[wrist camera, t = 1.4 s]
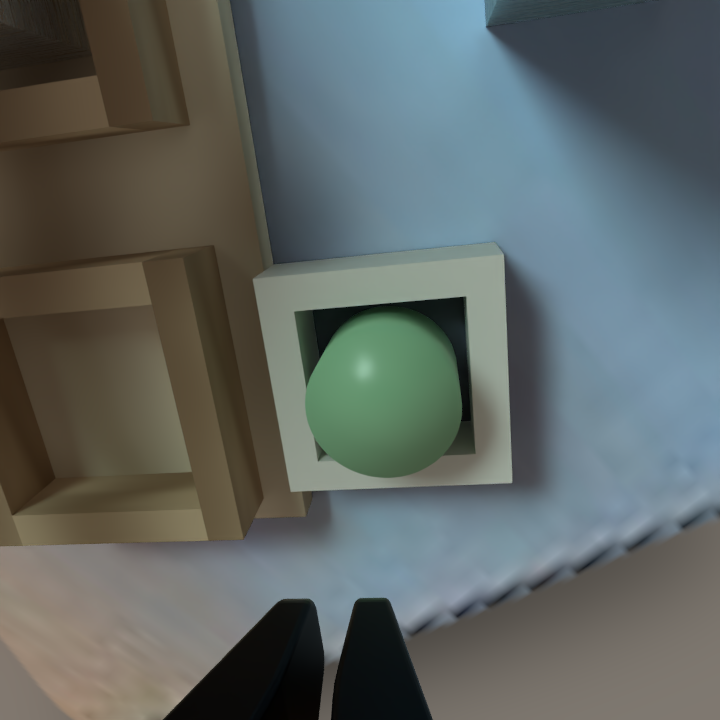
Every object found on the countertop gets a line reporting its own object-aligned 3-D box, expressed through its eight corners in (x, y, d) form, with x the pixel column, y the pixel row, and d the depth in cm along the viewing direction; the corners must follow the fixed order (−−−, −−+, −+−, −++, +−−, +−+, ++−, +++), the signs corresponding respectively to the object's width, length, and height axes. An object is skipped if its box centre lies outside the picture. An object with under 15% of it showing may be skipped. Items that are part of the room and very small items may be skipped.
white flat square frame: (495, 242, 15) (503, 254, 13) (503, 446, 17) (512, 483, 15) (273, 264, 16) (252, 278, 14) (305, 456, 18) (290, 491, 16)
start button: (453, 299, 15) (457, 327, 12) (461, 427, 16) (466, 474, 13) (315, 311, 15) (293, 340, 13) (333, 434, 16) (316, 480, 14)
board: (184, -273, 12) (111, -400, 9) (312, 498, 18) (291, 560, 16) (-211, -174, 14) (-376, -259, 11) (29, 508, 20) (-37, 567, 17)
